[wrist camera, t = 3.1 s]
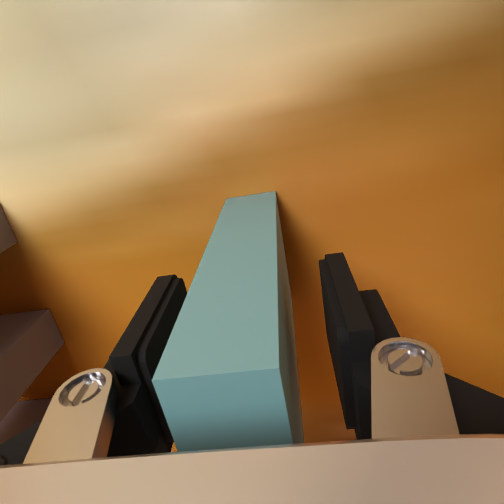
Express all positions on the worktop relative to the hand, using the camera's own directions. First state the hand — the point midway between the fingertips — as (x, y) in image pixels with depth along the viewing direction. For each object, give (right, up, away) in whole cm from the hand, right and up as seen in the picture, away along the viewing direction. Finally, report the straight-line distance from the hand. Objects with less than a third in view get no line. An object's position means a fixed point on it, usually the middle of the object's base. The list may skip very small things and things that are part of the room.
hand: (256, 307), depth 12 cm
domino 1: (0, +2, +4) cm, 4 cm away
